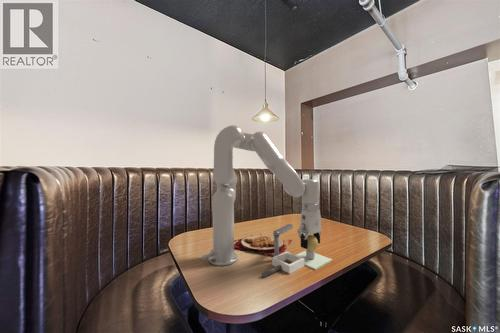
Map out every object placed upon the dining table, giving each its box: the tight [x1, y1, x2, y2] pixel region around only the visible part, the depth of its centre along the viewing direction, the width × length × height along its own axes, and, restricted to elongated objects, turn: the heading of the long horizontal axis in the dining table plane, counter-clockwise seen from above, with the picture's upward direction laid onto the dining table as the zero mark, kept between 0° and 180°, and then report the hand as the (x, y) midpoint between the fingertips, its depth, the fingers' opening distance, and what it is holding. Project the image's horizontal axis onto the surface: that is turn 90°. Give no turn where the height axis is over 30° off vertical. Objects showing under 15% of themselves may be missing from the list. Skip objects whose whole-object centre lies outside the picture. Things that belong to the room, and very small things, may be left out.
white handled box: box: [261, 236, 305, 278], centre depth 79 cm, size 20×12×10 cm, turn 129°
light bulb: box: [305, 234, 319, 259], centre depth 87 cm, size 6×6×10 cm
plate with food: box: [234, 233, 293, 257], centre depth 105 cm, size 25×26×4 cm
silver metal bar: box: [272, 223, 294, 237], centre depth 92 cm, size 3×16×2 cm, turn 143°
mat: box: [295, 250, 333, 271], centre depth 86 cm, size 13×13×1 cm
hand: (310, 245), depth 87 cm, fingers open, 9 cm apart
